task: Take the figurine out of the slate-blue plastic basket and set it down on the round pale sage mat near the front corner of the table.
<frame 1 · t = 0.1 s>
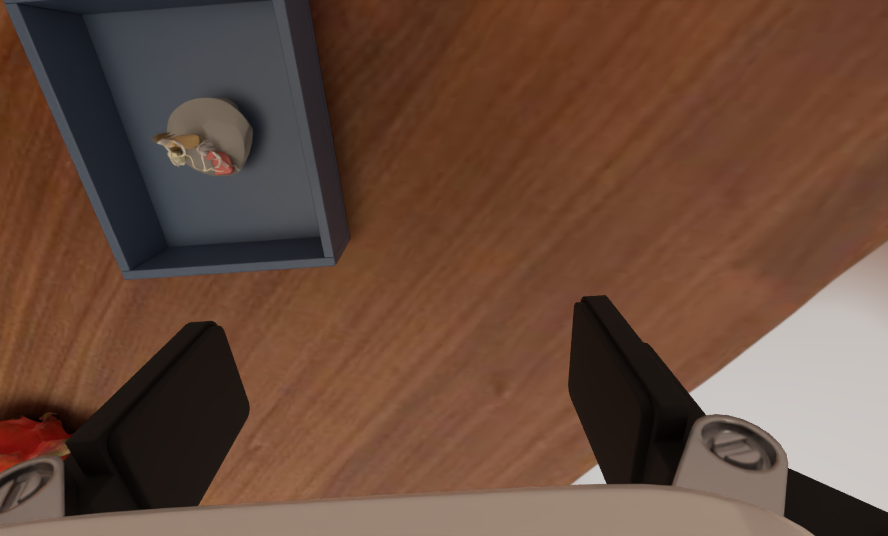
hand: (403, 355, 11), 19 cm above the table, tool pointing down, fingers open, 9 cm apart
figurine: (226, 136, 26), resting in basket
dragon fruit: (52, 432, 37), on the table
basket: (229, 136, 26), on the table
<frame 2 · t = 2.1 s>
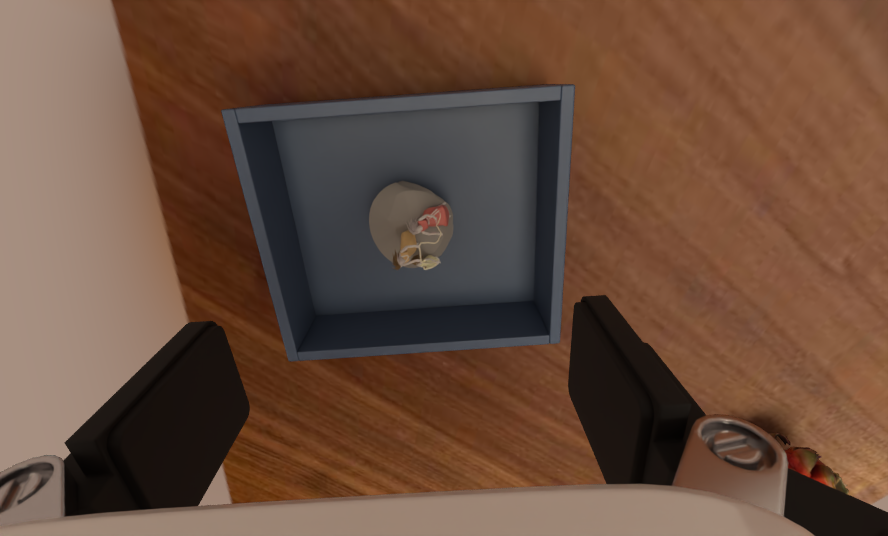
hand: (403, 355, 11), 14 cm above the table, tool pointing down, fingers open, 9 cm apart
figurine: (415, 216, 24), resting in basket
dragon fruit: (733, 462, 34), on the table
basket: (416, 214, 24), on the table
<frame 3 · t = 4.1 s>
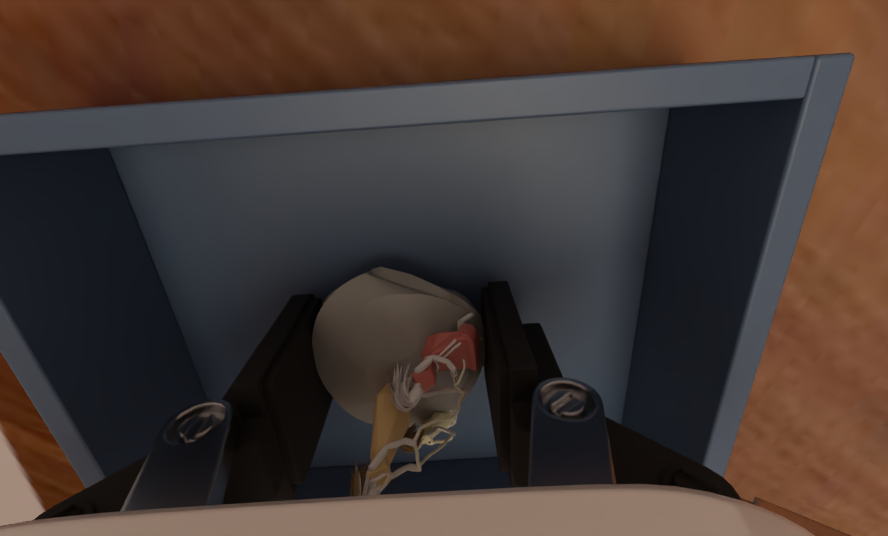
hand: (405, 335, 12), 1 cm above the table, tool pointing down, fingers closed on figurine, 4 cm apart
figurine: (411, 317, 13), resting in basket, touching gripper
basket: (410, 311, 13), on the table
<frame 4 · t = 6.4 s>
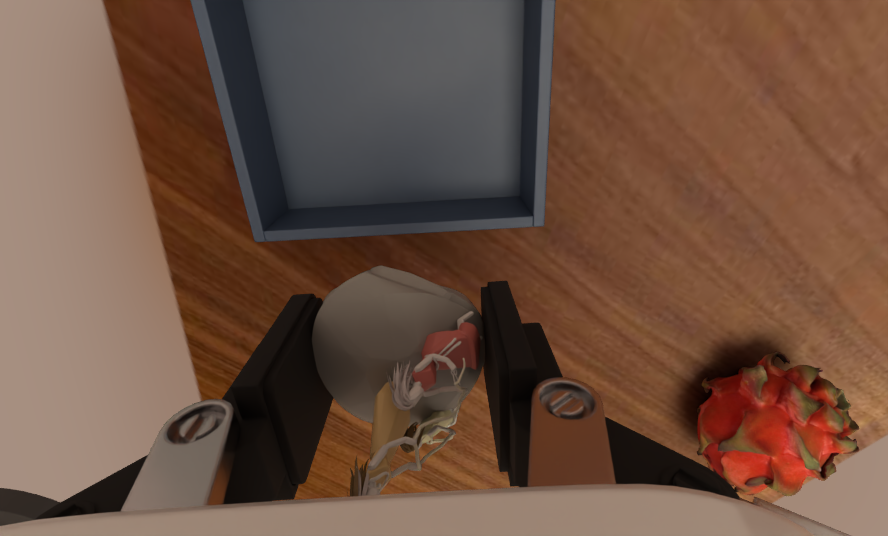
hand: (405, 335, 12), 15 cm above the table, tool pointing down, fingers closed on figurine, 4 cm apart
figurine: (411, 316, 13), point 14 cm above the table, touching gripper
dragon fruit: (729, 392, 32), on the table
basket: (394, 94, 23), on the table
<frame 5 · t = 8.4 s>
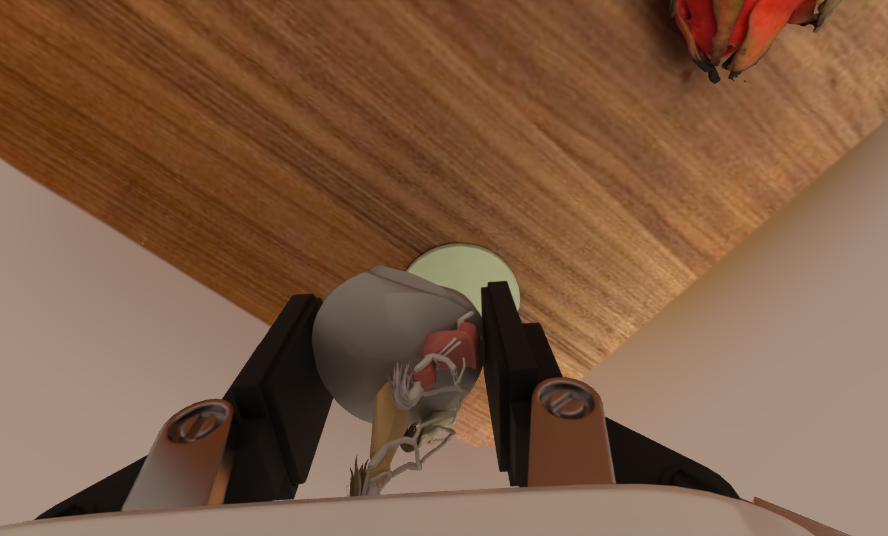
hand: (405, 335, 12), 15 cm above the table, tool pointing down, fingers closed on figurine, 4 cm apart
figurine: (411, 316, 13), point 14 cm above the table, touching gripper
mat: (458, 299, 29), on the table
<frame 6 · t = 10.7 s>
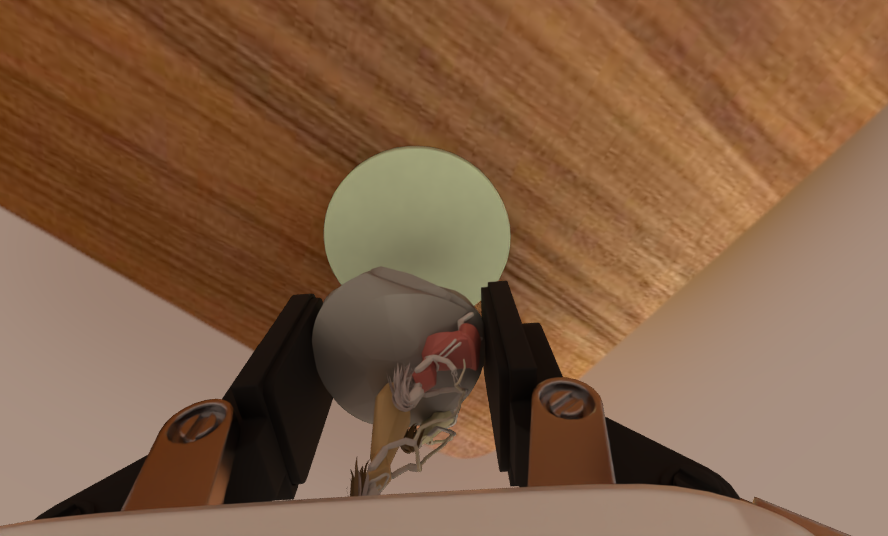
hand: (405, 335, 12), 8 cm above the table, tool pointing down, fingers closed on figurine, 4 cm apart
figurine: (411, 317, 13), point 7 cm above the table, touching gripper
mat: (418, 239, 19), on the table
when the fingers open (1 cm above the table, at t = 12.6 s): figurine stays where it is, resting on mat.
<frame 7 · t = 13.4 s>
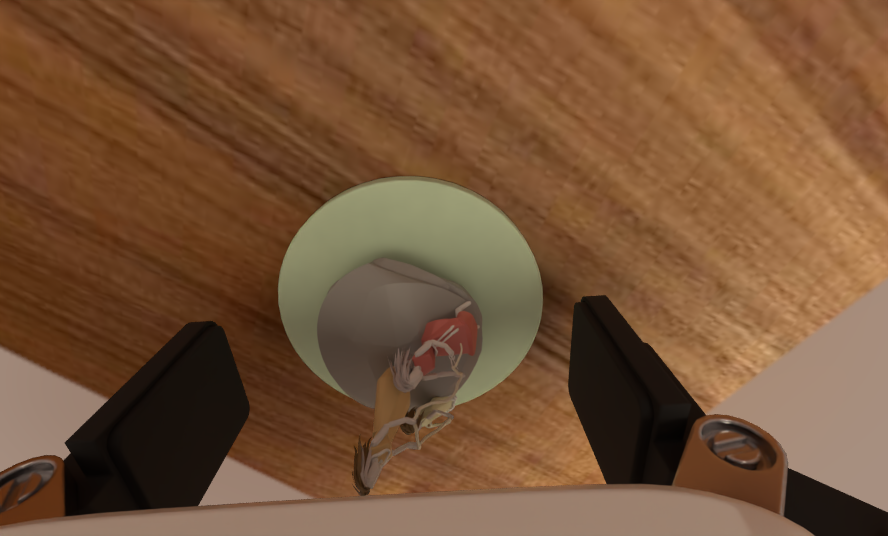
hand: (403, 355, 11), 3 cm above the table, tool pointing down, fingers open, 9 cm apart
figurine: (411, 308, 13), resting on mat
mat: (412, 302, 14), on the table
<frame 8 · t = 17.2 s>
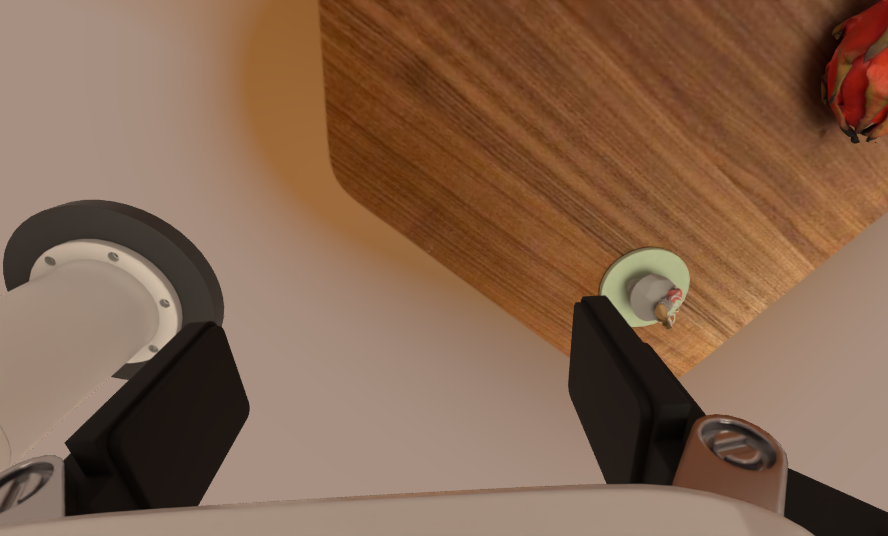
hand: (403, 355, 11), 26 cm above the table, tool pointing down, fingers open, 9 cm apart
figurine: (644, 288, 40), resting on mat
dragon fruit: (853, 58, 32), on the table
mat: (642, 287, 40), on the table
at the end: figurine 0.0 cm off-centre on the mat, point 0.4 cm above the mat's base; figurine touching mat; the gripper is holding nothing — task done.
